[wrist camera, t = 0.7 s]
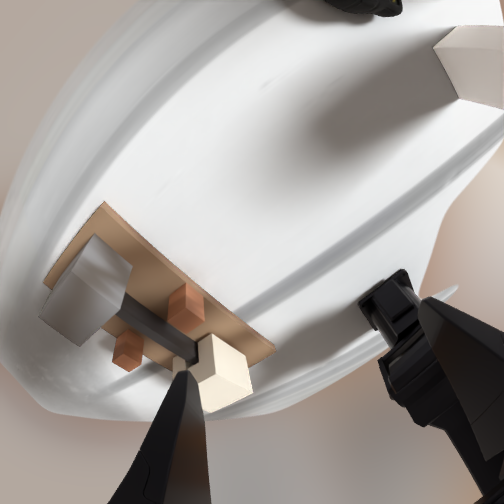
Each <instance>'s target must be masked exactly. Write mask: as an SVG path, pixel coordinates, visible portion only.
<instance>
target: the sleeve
mask: <svg viewBox="0 0 504 504" xmlns="http://www.w3.org/2000/svg"><path fill="white" fill-rule="evenodd" d="M198 353H199V363H197V364H195V365H193V364H191V363H189V362H188V361H186V360H184V359H182V358H181V357H179V356H176V357H174V358H173V380H174V378H175V376H176V374H177V372H179V371H183V370H189V371H190V372H191V373H192V375H193V376H194V378H195V379H196V381H197V383H198V386H199V392H200V398H201V404H202V410H205V411H207V412H210V413H212V412H214V411H216V410H219V409H221V408H223V407H225V406H227V405H230V404H232V403H234V402H236V401H238V400H240V399H242V398H244V397H246V396H248V395H250V394H252V393H253V389H252V385H251V380H250V375H249V370H248V366H247V361H246V356H245V355H244V354H242V353H240V352H239V351H237V350H236V349H234V348H233V347H231V346H230V345H228V344H227V343H225V342H224V341H222V340H221V339H219V338H218V337H216V336H215V335H213V334H210V335H209V336H207V337H205V338H204V339H202V340H201V341H199V342H198Z"/></svg>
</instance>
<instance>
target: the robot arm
mask: <svg viewBox="0 0 504 504" xmlns="http://www.w3.org/2000/svg"><path fill="white" fill-rule="evenodd" d="M358 306H359V308H360V309H361V311H362V312H363V314H364V315H365V317H366V318H367V320H368V321H369V323H370V324H371V326H372V327H373V329H374V330H375V331H377V330H379V332H380V333H381V335H382V336H383V338H384V339H385V341H386V342H387V344H388V346H389V347H390V349H391V350H390V351H389V352H388V353H387V354H385V355H384V356H383V357H381V358H380V359H378V363H379V366H380V367H379V368H380V371H381V374H382V376H383V379H384V382H385V385H386V388H387V391H388V393H389V397H390V399H391V400H395V401H396V402H397V403H398V404H399V405H400V406H402V407H406V409H407V410H408V412H409V414H410V415H411V417H412V419H413V421H414V422H415V423H416V424H418V425H420V426H422V427H425V426H427V425H430V426H433V427H436V428H439V429H442V430H444V431H445V432H446V434H447V435H448V437H449V438H450V440H451V441H452V443H453V445H454V446H455V448H456V450H457V451H458V453H459V455H460V456H461V458H462V460H463V461H464V463H465V465H466V467H467V468H468V470H469V472H470V473H471V475H472V477H473V479H474V481H475V482H476V484H477V486H478V488H479V490H480V491H481V493H482V495H483V497H482V498H480V499H479V500H478V501H476V502H475V503H474V504H504V332H502V331H500V330H498V329H496V328H494V327H492V326H490V325H488V324H486V323H484V322H482V321H480V320H478V319H476V318H474V317H472V316H470V315H468V314H466V313H464V312H462V311H460V310H458V309H456V308H454V307H452V306H450V305H448V304H446V303H444V302H442V301H439V300H437V299H435V298H433V297H427V298H424V299H422V300H420V299H419V298H418V296H417V295H416V294H415V293H414V290H413V287H412V284H411V281H410V279H409V276H408V273H407V271H406V270H405V269H402V270H400V271H399V272H398V273H397V274H395V275H394V276H393V277H391V278H390V279H389V280H388V281H386V282H385V283H384V284H383V285H381V286H380V287H379V288H377V289H376V290H375V291H373V292H372V293H371V294H369V295H368V296H367V297H365V298H364V299H363V300H361V301H360V302H359V303H358ZM205 434H206V433H205V421H204V415H203V410H202V404H201V398H200V392H199V386H198V383H197V381H196V379H195V378H194V376H193V375H192V373H191V372H190V371H189V370H183V371H179V372H177V374H176V376H175V378H174V380H173V382H172V384H171V386H170V388H169V390H168V392H167V394H166V396H165V398H164V400H163V402H162V404H161V406H160V408H159V410H158V412H157V414H156V416H155V418H154V420H153V422H152V425H151V427H150V429H149V431H148V433H147V435H146V437H145V439H144V441H143V443H142V445H141V447H140V451H138V453H137V455H136V457H135V460H134V461H133V463H132V465H131V467H130V469H129V471H128V473H127V475H126V476H125V477H124V479H123V481H122V482H121V484H120V485H119V487H118V488H117V490H116V492H115V493H114V495H113V496H112V498H111V499H110V501H109V502H108V503H107V504H211V495H210V485H209V475H208V462H207V449H206V435H205Z"/></svg>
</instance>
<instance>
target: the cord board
mask: <svg viewBox="0 0 504 504" xmlns="http://www.w3.org/2000/svg"><path fill="white" fill-rule="evenodd" d="M43 283H44V284H45V285H47V286H48V287H49V288H50V289H51V290H52V292H51V293H50V295H49V297H48V299H47V301H46V303H45V305H44V307H43V308H42V310H41V312H40V314H39V316H38V317H39V318H40V319H42V320H43V321H44V322H45V323H47V324H48V325H49V326H51V327H52V328H53V329H55V330H56V331H57V332H59V333H60V334H62V335H63V336H64V337H66V338H67V339H69V340H70V341H71V342H73V343H74V344H76V345H77V346H79V347H80V346H81V345H82V344H83V343H84V342H85V341H86V340H88V339H89V338H90V337H91V336H92V335H93V334H94V333H95V332H96V331H97V330H98V329H99V328H100V327H101V328H102V329H104V330H105V331H107V332H108V333H110V334H111V335H113V336H114V337H116V338H117V340H116V344H115V349H114V354H113V359H112V362H113V363H114V364H116V365H118V366H119V367H121V368H123V369H125V370H126V371H128V372H130V371H132V370H133V369H135V368H136V367H138V366H139V365H141V362H142V354H143V355H144V356H146V357H148V358H149V359H151V360H153V361H155V362H156V363H158V364H160V365H162V366H163V367H165V368H167V369H169V370H171V371H172V372H173V358H174V357H176V356H179V357H181V358H182V359H184V360H186V361H188V362H189V363H191V364H193V365H195V364H197V363H199V353H198V342H199V341H201V340H202V339H204V338H205V337H207V336H209V335H210V334H213V335H215V336H216V337H218V338H219V339H221V340H222V341H224V342H225V343H227V344H228V345H230V346H231V347H233V348H234V349H236V350H237V351H239V352H240V353H242V354H244V355H245V356H246V361H247V366H248V368H249V367H251V366H253V365H255V364H256V363H258V362H260V361H262V360H263V359H265V358H267V357H268V356H270V355H272V354H273V353H275V352H276V349H275V346H274V344H272V343H271V342H270V341H268V340H267V339H266V338H264V337H263V336H262V335H260V334H259V333H258V332H256V331H255V330H254V329H253V328H251V327H250V326H249V325H247V324H246V323H245V322H243V321H242V320H241V319H240V318H238V317H237V316H236V315H235V314H233V313H232V312H231V311H229V310H228V309H227V308H226V307H224V306H223V305H222V304H221V303H220V302H218V301H217V300H216V299H215V298H213V297H212V296H211V295H210V294H208V293H207V292H206V291H205V290H204V289H202V288H201V287H200V286H199V285H198V284H196V283H195V282H194V281H193V280H192V279H190V278H189V277H188V276H187V275H186V274H184V273H183V272H182V271H181V270H180V269H179V268H177V267H176V266H175V265H174V264H173V263H172V262H170V261H169V260H168V259H167V258H166V257H165V256H164V255H162V254H161V253H160V252H159V251H158V250H157V249H156V248H155V247H153V246H152V245H151V244H150V243H149V242H148V241H147V240H146V239H144V238H143V237H142V236H141V235H140V234H139V233H138V232H137V231H136V230H135V229H134V228H132V227H131V226H130V225H129V224H128V223H127V222H126V221H125V220H124V219H123V218H122V217H121V216H120V215H118V214H117V213H116V212H115V211H114V210H113V209H112V208H111V207H110V206H109V205H108V204H107V203H106V202H105V201H104V202H103V203H102V205H101V206H100V207H99V208H98V209H97V210H96V212H95V213H94V214H93V215H92V216H91V218H90V219H89V220H88V221H87V222H86V224H85V225H84V226H83V227H82V229H81V230H80V231H79V233H78V234H77V235H76V236H75V238H74V239H73V240H72V242H71V243H70V244H69V246H68V247H67V248H66V250H65V251H64V252H63V254H62V255H61V257H60V258H59V259H58V261H57V262H56V264H55V265H54V266H53V268H52V269H51V271H50V272H49V274H48V275H47V277H46V278H45V280H44V282H43Z"/></svg>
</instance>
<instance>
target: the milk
mask: <svg viewBox="0 0 504 504" xmlns="http://www.w3.org/2000/svg"><path fill="white" fill-rule="evenodd" d="M433 49H434V51H435V53H436V54H437V56H438V58H439V60H440V61H441V63H442V65H443V67H444V69H445V70H446V72H447V74H448V76H449V78H450V80H451V82H452V84H453V86H454V88H455V90H456V92H457V95H458V97H459V99H462V100H467V101H472V102H476V103H480V104H484V105H488V106H492V107H496V108H499V109H503V110H504V26H489V25H464V26H457V27H456V28H454V29H453V30H452V31H451V32H450V33H449V34H448V35H446V36H445V37H444V38H443V39H442V40H441V41H440V42H438V43H437V44H436V45H435V46H434V47H433Z"/></svg>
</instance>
